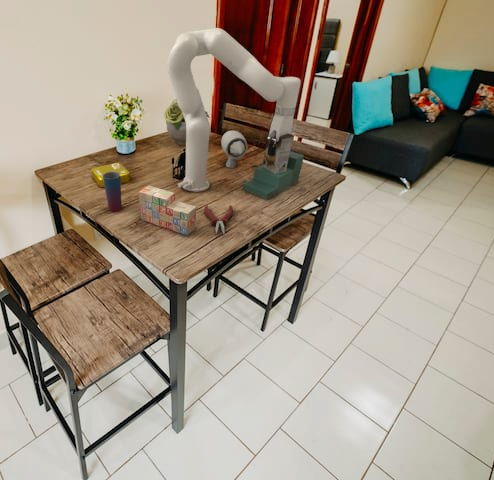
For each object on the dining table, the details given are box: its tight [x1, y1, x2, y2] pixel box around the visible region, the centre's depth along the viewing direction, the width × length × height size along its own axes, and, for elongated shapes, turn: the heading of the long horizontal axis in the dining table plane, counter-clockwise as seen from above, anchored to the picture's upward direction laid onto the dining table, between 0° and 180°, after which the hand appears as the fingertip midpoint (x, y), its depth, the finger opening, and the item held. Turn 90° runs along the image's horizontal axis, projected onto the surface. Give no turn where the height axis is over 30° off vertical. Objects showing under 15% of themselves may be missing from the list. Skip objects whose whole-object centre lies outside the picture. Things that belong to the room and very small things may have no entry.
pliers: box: [203, 204, 234, 236], centre depth 128 cm, size 12×20×3 cm, turn 175°
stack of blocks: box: [138, 185, 197, 236], centre depth 125 cm, size 21×6×12 cm, turn 56°
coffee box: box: [262, 130, 294, 174], centre depth 144 cm, size 9×6×16 cm
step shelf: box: [241, 150, 305, 201], centre depth 150 cm, size 25×13×13 cm, turn 132°
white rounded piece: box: [220, 130, 249, 169], centre depth 165 cm, size 15×20×18 cm
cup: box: [103, 171, 123, 213], centre depth 134 cm, size 7×7×15 cm
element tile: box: [91, 162, 131, 188], centre depth 160 cm, size 15×15×5 cm
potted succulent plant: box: [163, 100, 211, 146], centre depth 193 cm, size 25×25×24 cm
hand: (277, 152), depth 145 cm, fingers open, 9 cm apart
